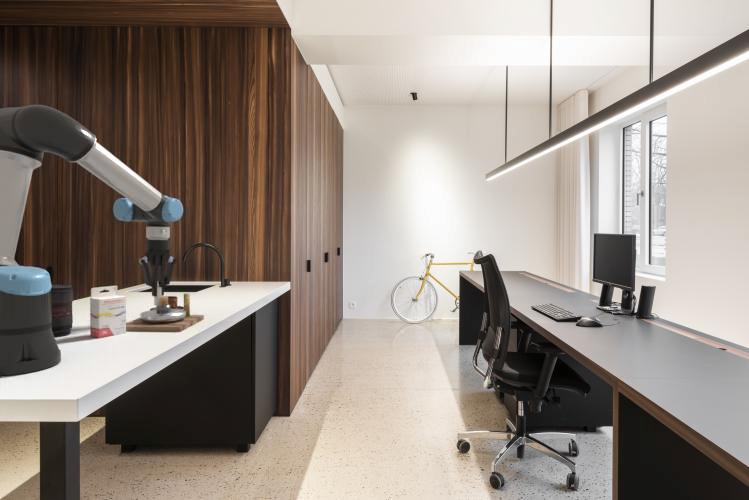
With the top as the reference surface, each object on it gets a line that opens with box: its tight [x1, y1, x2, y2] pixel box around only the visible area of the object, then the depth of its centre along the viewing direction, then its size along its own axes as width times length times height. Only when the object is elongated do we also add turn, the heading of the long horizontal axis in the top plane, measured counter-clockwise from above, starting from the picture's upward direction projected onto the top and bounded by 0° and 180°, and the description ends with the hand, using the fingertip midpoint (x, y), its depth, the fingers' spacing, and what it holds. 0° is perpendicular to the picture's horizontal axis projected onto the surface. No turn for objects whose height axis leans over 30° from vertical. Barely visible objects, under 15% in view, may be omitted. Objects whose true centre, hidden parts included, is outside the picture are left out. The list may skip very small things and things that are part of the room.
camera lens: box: [51, 284, 74, 338], centre depth 139 cm, size 8×8×15 cm
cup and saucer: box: [149, 295, 184, 311], centre depth 176 cm, size 12×12×6 cm
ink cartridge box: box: [89, 285, 127, 339], centre depth 140 cm, size 9×5×15 cm, turn 150°
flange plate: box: [140, 295, 186, 322], centre depth 157 cm, size 18×14×6 cm
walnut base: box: [126, 292, 205, 333], centre depth 155 cm, size 20×20×10 cm
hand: (157, 305), depth 162 cm, fingers closed
